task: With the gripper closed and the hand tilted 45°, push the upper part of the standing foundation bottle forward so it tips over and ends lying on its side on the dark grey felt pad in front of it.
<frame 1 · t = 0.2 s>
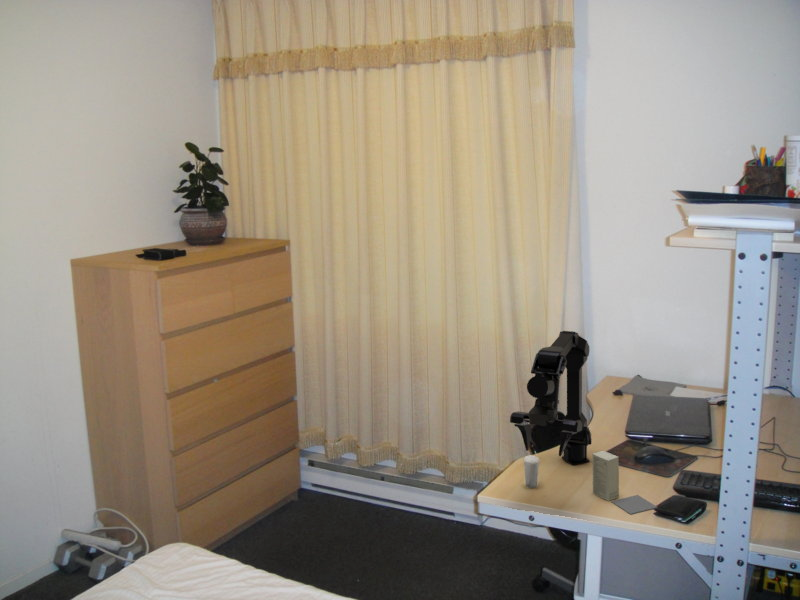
hand: (543, 453, 190), 15 cm above the table, tool pointing down, fingers open, 9 cm apart
felt pad: (634, 505, 191), on the table
milkshake: (532, 486, 205), on the table
skincare box: (605, 496, 198), on the table
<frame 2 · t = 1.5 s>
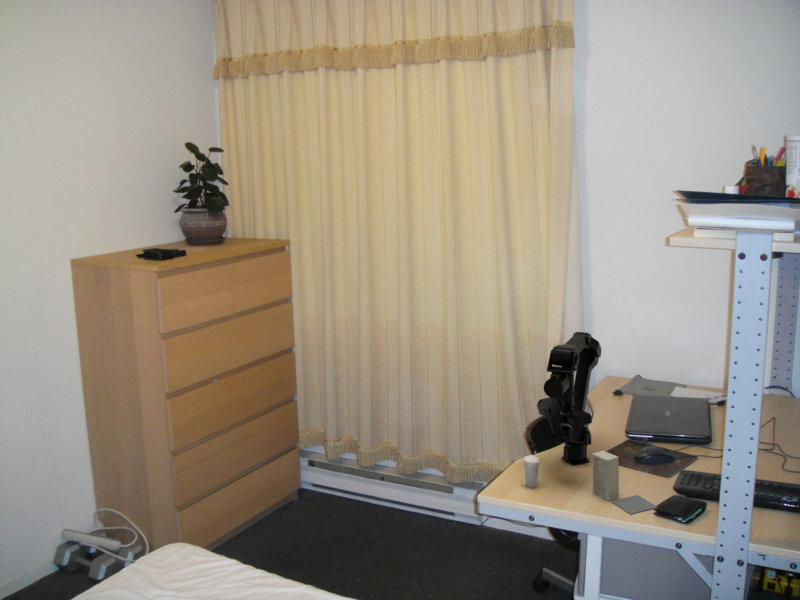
hand: (563, 438, 209), 12 cm above the table, tool pointing down, fingers open, 8 cm apart
nothing on the table moved.
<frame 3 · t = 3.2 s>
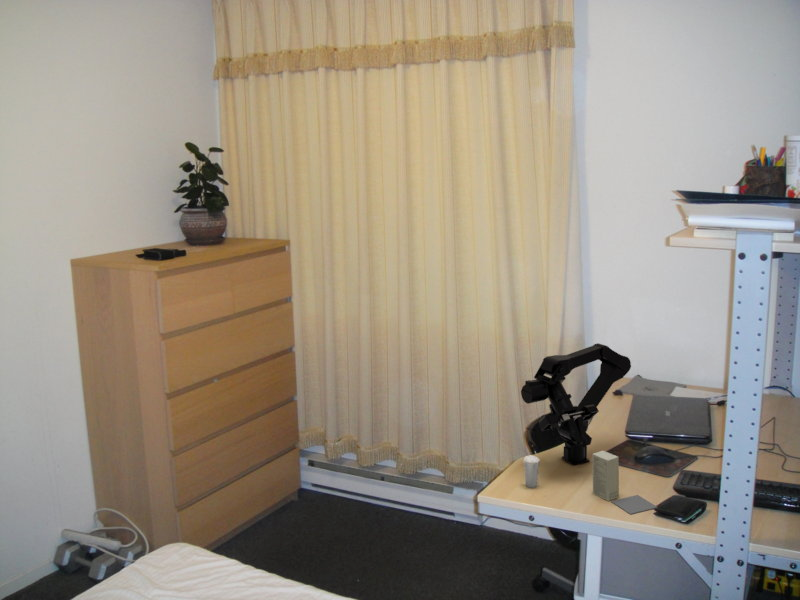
hand: (581, 443, 205), 12 cm above the table, tool tilted 45°, fingers closed
nothing on the table moved.
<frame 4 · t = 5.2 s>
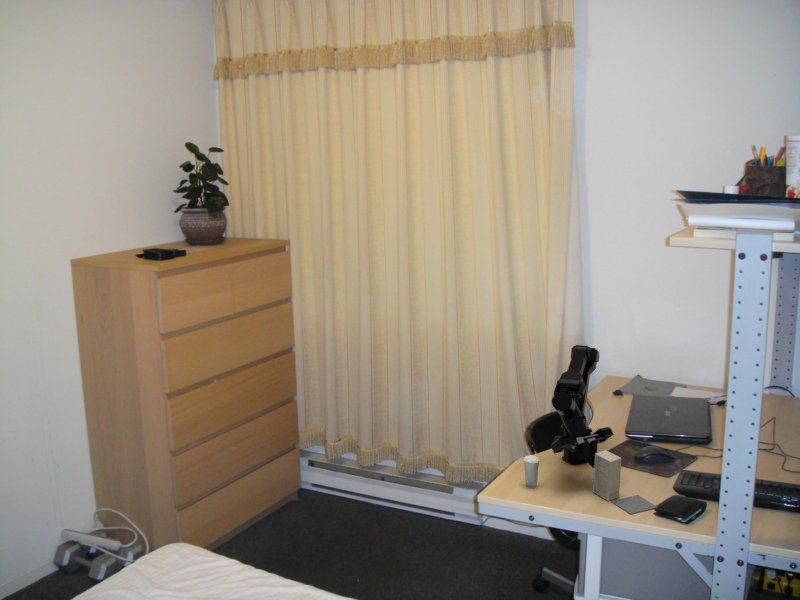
hand: (595, 467, 198), 8 cm above the table, tool tilted 45°, fingers closed
skincare box: (605, 495, 198), on the table, touching gripper
everything else where it was.
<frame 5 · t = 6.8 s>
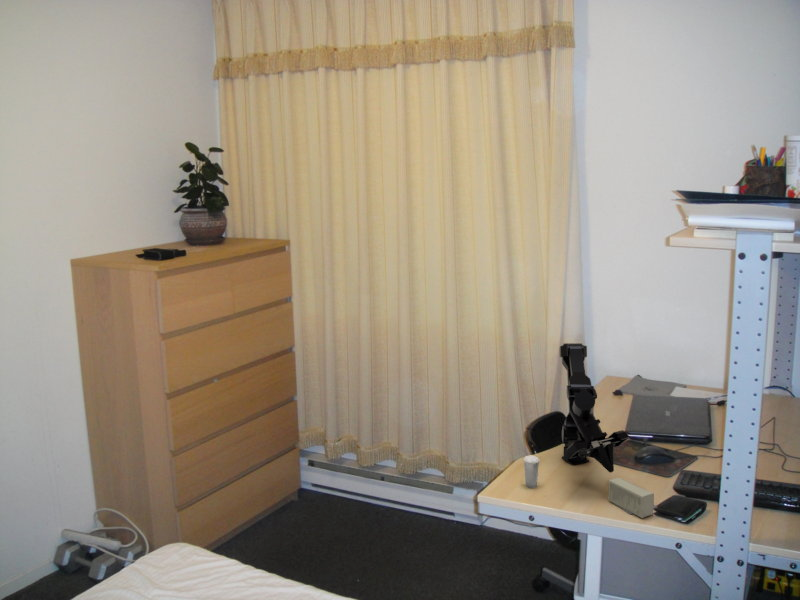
hand: (611, 471, 194), 8 cm above the table, tool tilted 45°, fingers closed
skincare box: (613, 487, 194), point 4 cm above the table, touching felt pad
everything else where it was.
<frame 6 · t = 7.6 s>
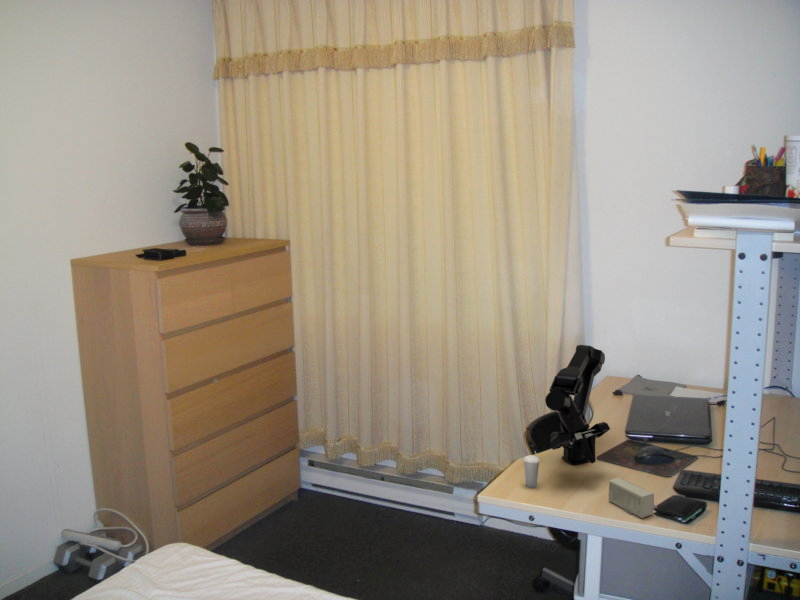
hand: (593, 462, 200), 8 cm above the table, tool tilted 40°, fingers closed
nothing on the table moved.
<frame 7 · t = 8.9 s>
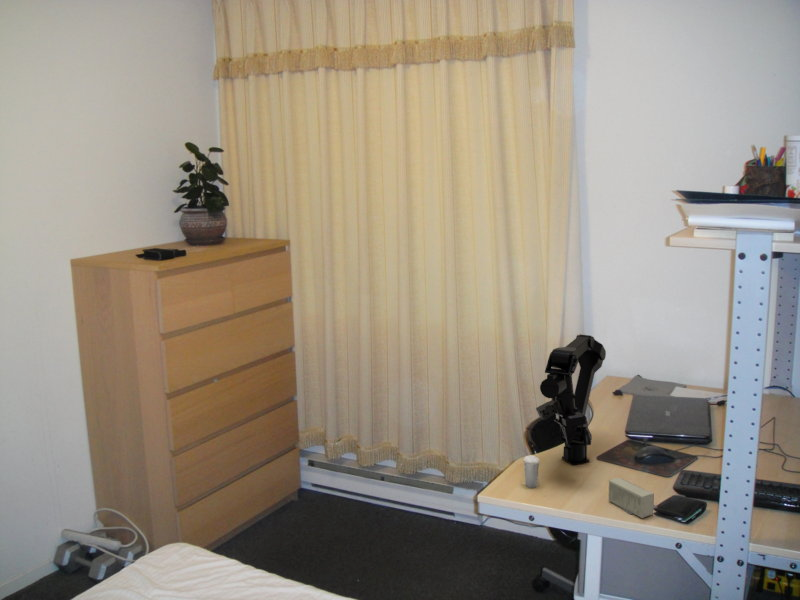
hand: (569, 443, 208), 11 cm above the table, tool pointing down, fingers closed
nothing on the table moved.
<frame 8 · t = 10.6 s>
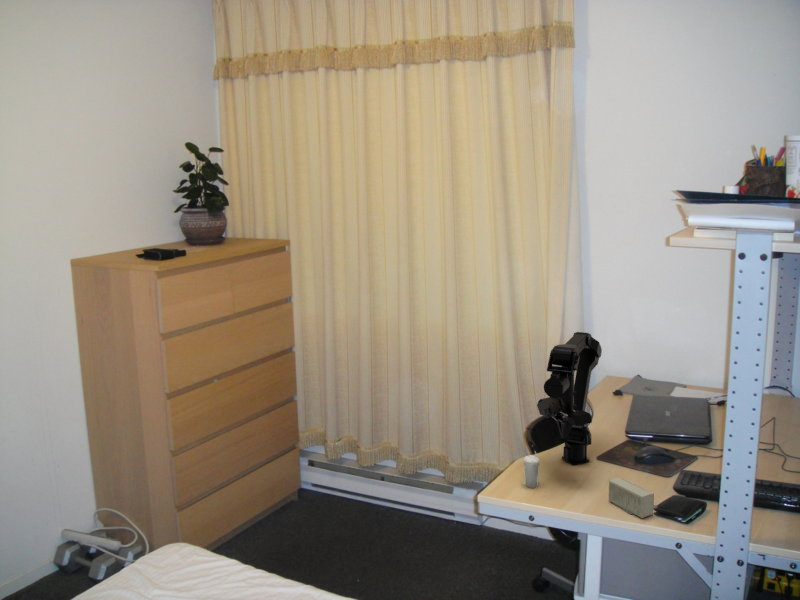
hand: (563, 438, 209), 12 cm above the table, tool pointing down, fingers closed
nothing on the table moved.
at the end: skincare box tilted 91°; skincare box inside the target area (3.1 cm from its centre), point 3.5 cm above the table; the gripper is holding nothing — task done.
